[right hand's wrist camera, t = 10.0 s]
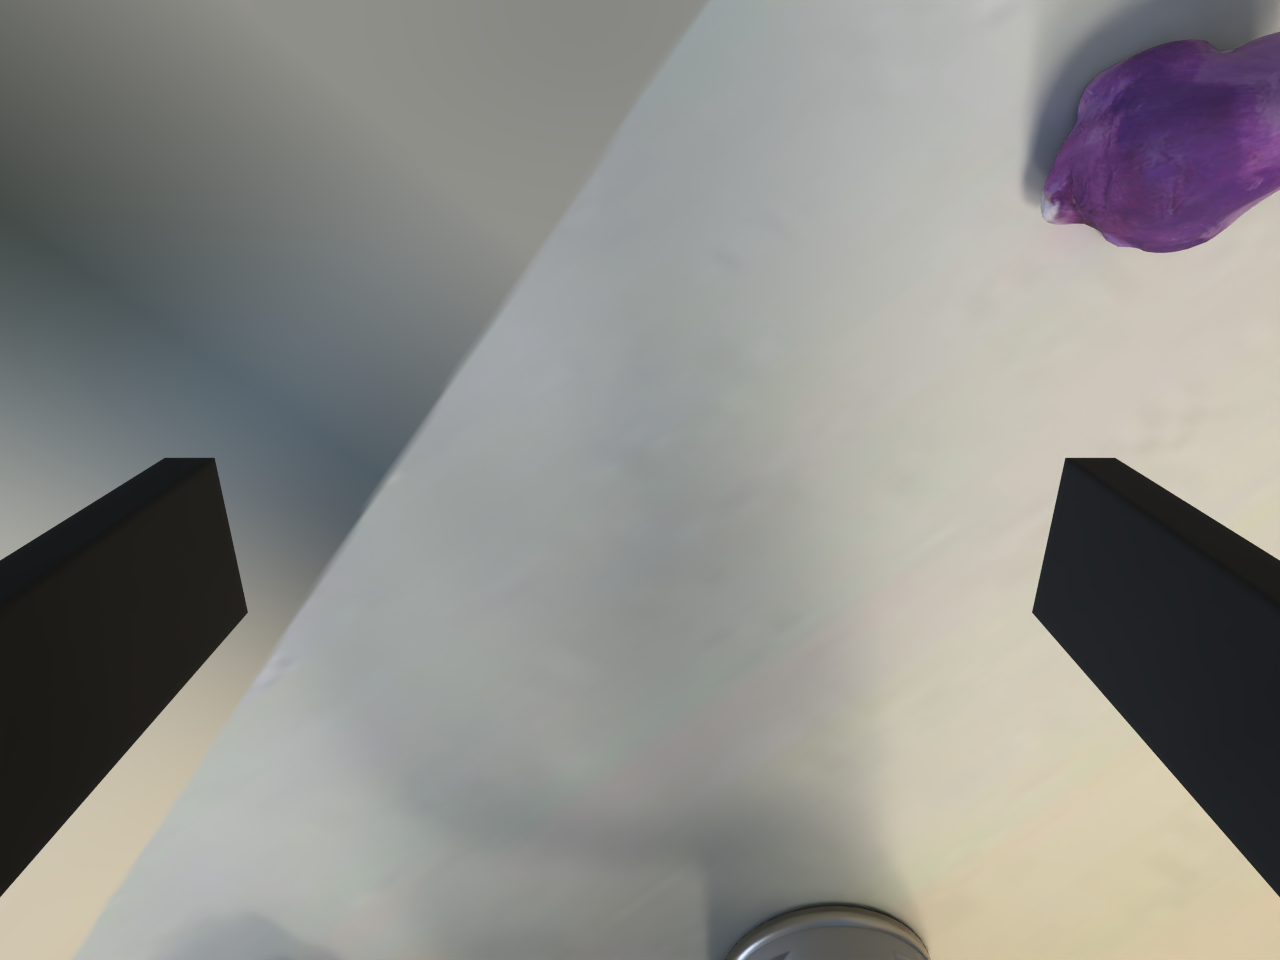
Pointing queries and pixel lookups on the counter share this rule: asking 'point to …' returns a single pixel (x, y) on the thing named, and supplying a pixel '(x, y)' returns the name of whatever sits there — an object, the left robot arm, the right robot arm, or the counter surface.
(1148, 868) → the counter surface
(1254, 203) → the figurine
